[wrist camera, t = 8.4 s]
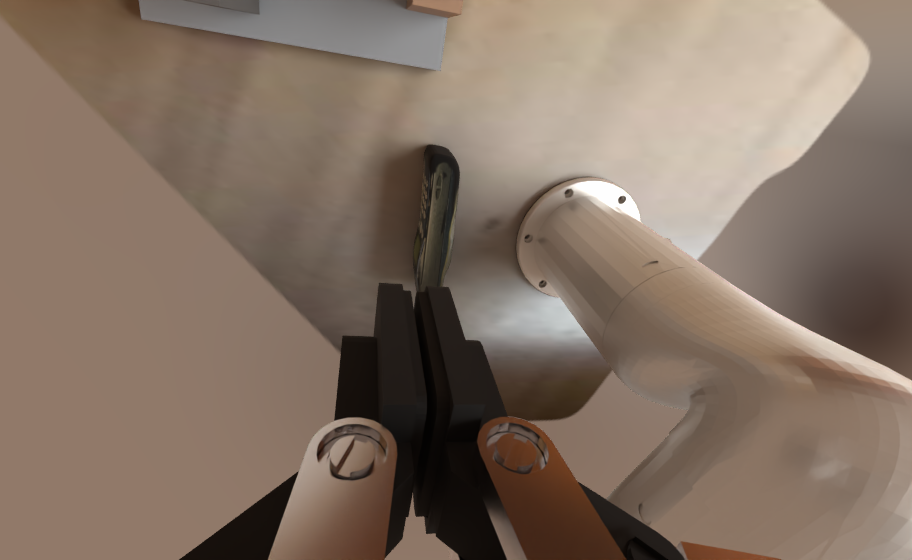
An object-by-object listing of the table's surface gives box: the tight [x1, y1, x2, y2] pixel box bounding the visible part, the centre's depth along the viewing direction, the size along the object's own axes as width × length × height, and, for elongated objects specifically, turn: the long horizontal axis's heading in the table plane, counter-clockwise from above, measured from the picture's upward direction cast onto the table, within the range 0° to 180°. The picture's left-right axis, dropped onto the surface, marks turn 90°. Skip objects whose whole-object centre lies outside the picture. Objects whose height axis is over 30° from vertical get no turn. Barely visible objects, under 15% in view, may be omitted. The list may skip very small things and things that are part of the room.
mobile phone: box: [413, 145, 460, 292], centre depth 39 cm, size 5×3×15 cm
